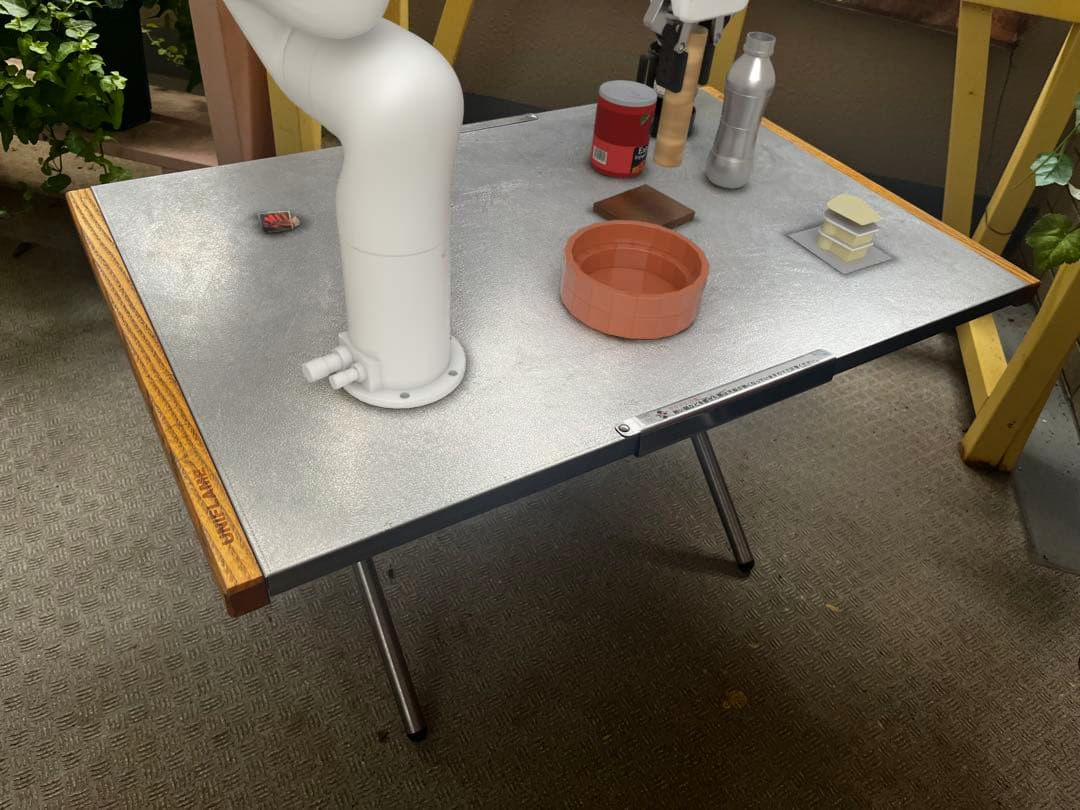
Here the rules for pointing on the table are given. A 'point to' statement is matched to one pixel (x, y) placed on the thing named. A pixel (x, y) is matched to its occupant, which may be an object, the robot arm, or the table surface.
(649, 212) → the board
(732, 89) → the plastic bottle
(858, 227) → the stacked layers on plate
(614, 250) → the bowl
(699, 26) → the stirring stick
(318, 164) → the table surface
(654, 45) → the french press
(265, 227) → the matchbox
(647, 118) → the canned food
